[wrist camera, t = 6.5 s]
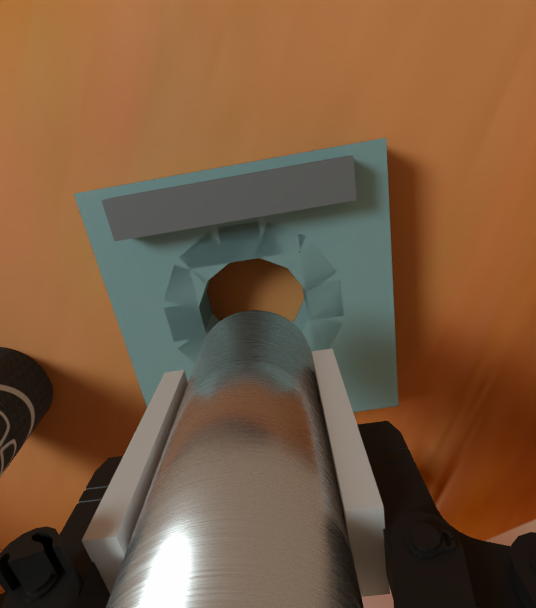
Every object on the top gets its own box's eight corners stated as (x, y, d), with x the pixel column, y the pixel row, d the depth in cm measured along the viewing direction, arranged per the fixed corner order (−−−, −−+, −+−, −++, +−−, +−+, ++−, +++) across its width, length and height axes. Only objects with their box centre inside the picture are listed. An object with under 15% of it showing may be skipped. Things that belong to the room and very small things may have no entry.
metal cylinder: (213, 414, 17) (103, 904, 6) (188, 319, 15) (-36, 758, 4) (317, 400, 17) (412, 890, 6) (303, 302, 15) (401, 725, 4)
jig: (169, 410, 28) (151, 456, 23) (98, 189, 22) (57, 196, 18) (384, 379, 27) (407, 422, 22) (370, 140, 21) (396, 135, 17)
